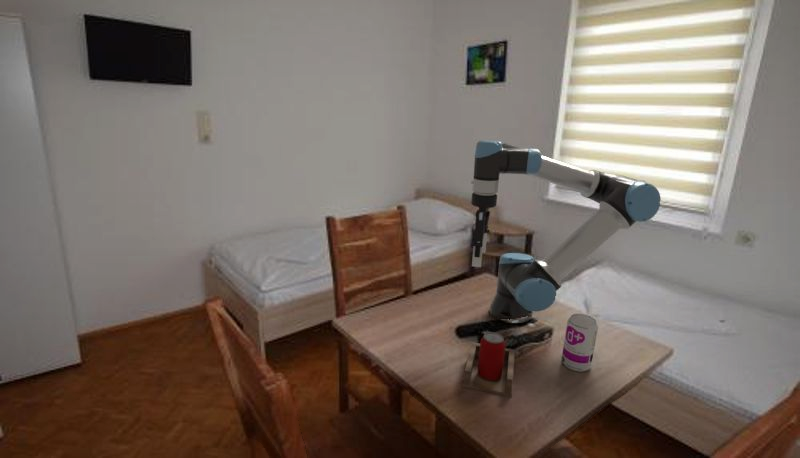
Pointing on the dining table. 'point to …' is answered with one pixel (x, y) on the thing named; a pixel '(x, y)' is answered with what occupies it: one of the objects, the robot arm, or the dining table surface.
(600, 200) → the robot arm
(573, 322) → the supplement can
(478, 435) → the dining table surface
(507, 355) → the walnut U-rest
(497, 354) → the beverage can
